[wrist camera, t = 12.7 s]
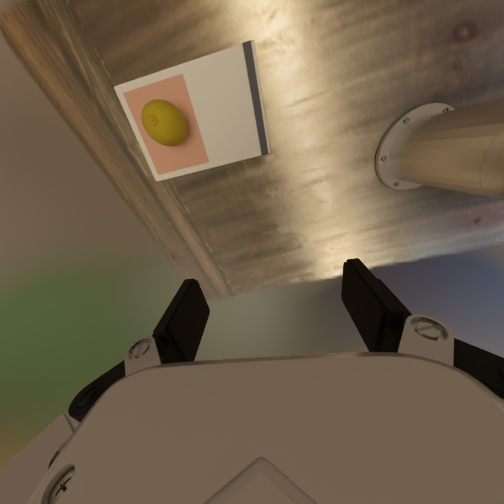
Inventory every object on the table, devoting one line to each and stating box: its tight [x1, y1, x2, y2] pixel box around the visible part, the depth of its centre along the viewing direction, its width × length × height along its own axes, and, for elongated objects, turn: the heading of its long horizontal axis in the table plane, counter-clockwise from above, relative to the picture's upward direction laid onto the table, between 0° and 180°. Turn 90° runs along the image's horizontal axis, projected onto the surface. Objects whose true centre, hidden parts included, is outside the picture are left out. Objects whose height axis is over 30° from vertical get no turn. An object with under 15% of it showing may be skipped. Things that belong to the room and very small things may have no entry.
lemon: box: [141, 99, 187, 146], centre depth 26 cm, size 6×6×8 cm
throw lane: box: [114, 40, 271, 182], centre depth 29 cm, size 22×14×1 cm, turn 102°
